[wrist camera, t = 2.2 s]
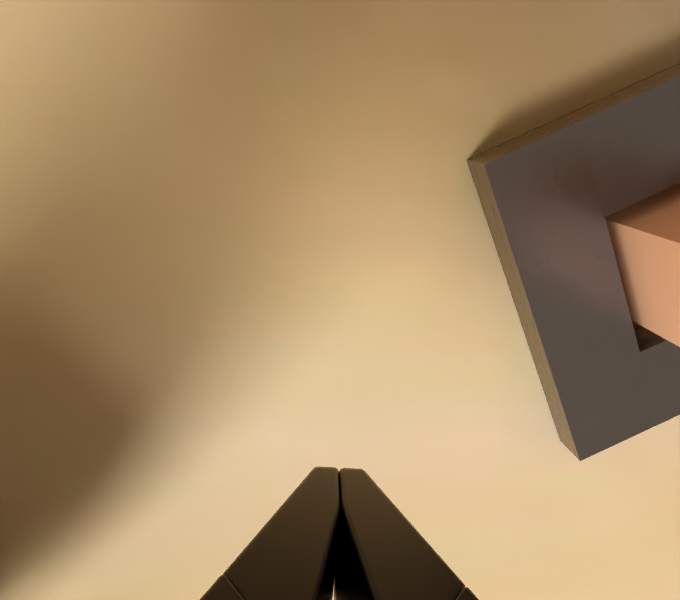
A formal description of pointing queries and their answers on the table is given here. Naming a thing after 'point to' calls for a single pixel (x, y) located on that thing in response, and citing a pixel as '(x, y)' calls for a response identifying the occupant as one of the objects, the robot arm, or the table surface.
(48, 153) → the table surface
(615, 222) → the block
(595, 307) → the plate
